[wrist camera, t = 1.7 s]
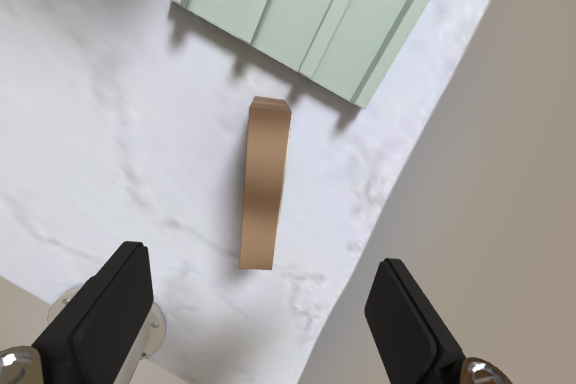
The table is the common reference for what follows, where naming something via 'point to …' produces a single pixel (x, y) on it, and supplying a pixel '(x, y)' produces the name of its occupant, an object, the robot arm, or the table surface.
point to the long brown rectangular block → (264, 180)
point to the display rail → (321, 36)
